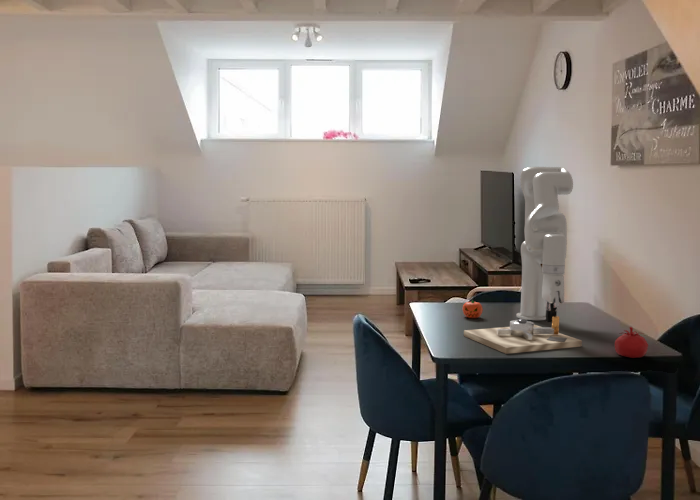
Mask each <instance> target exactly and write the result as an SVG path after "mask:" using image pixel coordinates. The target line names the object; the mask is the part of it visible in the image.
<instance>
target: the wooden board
mask: <svg viewBox="0 0 700 500" xmlns="http://www.w3.org/2000/svg"><path fill="white" fill-rule="evenodd" d="M539 327H541V325H537V324H534V328H539ZM497 329H510V326H504V327H503V326H502V327H500V326H499V327H491V328H490V327H488V328H479V329H467V330H466V329H464V330H463V337H465V338H468V339H470V340H472V341H475V342H477V343H479V344H482V345H484V346H487V347H489V348H490V349H491V348H492V349H493V350H496V351H498V352H501V353H502V354H506V355H507V354H519V353H526V352H528V353H529V352H538V351H539V352H540V351H548V350H557V349H569V348H579V347H582V346H583V344H582V343H583V340H582V339H578V338H575V337H572V336H569V335H567V334H563V333H560V332H559V334H533V336H532V340H528V339H526V338H525V337H521V336H514V335H498V334H497Z"/></svg>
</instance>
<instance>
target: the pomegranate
mask: <svg viewBox="0 0 700 500" xmlns="http://www.w3.org/2000/svg"><path fill="white" fill-rule="evenodd" d="M633 330H634V328H633V327H632V326H630V327H629V330H625V329H624V333H623V332H620V333H619V334H620V335H619V336H618V337H617V338H616V339H615V341H614V350H615V352H616V354H617V355H619V356H622V357H626V358H631V359H636V358H638V359H639V358H643V357H644V356H646V354H647V352H648V348H649V343H648V342H647V340H646V339H645V337H644V336H642V335H640V333H639V332H637V331H636V330H635V331H633ZM621 334H622V335H621ZM641 334H643V335H644V333H643V332H641Z"/></svg>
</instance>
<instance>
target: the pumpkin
mask: <svg viewBox="0 0 700 500" xmlns="http://www.w3.org/2000/svg"><path fill="white" fill-rule="evenodd" d="M483 309H484V308H483V305H482V304H481V303H480V302H476V301H474V300H473V299H472V300H471V301H466V302H465V303H464V304H463V305H462V313H463V315H464V316H465V317H466V318H468V319H477V318H480V317H481V315H482V313H483Z"/></svg>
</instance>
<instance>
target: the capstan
mask: <svg viewBox="0 0 700 500" xmlns="http://www.w3.org/2000/svg"><path fill="white" fill-rule="evenodd" d="M534 325H535V322H534V321H532V320H526V319H520V318H517V319H515V320H510V321H509V327H510V329H497V334H498V335H514V336H521V337H525V338H526V339H528V340H532V336H533V334H559V333H560V316H559V315H556V316H552V322H551V327H542V326H540V327H539V328H534Z"/></svg>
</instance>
